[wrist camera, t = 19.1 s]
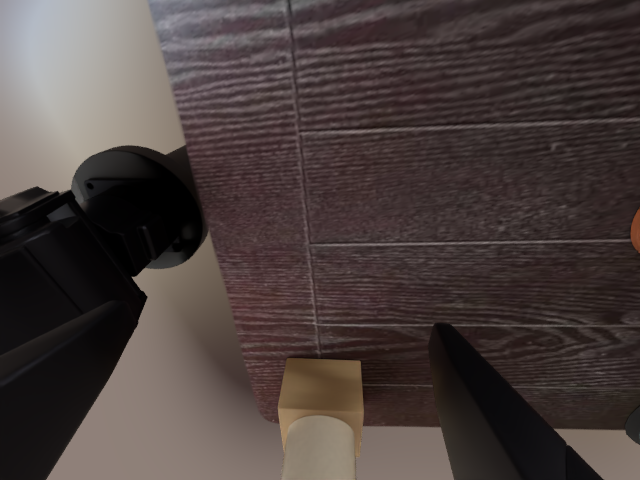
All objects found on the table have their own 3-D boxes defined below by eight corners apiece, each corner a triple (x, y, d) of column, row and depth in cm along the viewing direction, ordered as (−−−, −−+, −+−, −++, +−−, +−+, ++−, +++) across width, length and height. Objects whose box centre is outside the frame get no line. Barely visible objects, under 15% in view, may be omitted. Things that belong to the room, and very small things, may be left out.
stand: (291, 401, 32) (283, 453, 28) (286, 357, 29) (277, 408, 25) (357, 404, 32) (359, 457, 28) (360, 360, 29) (364, 412, 24)
